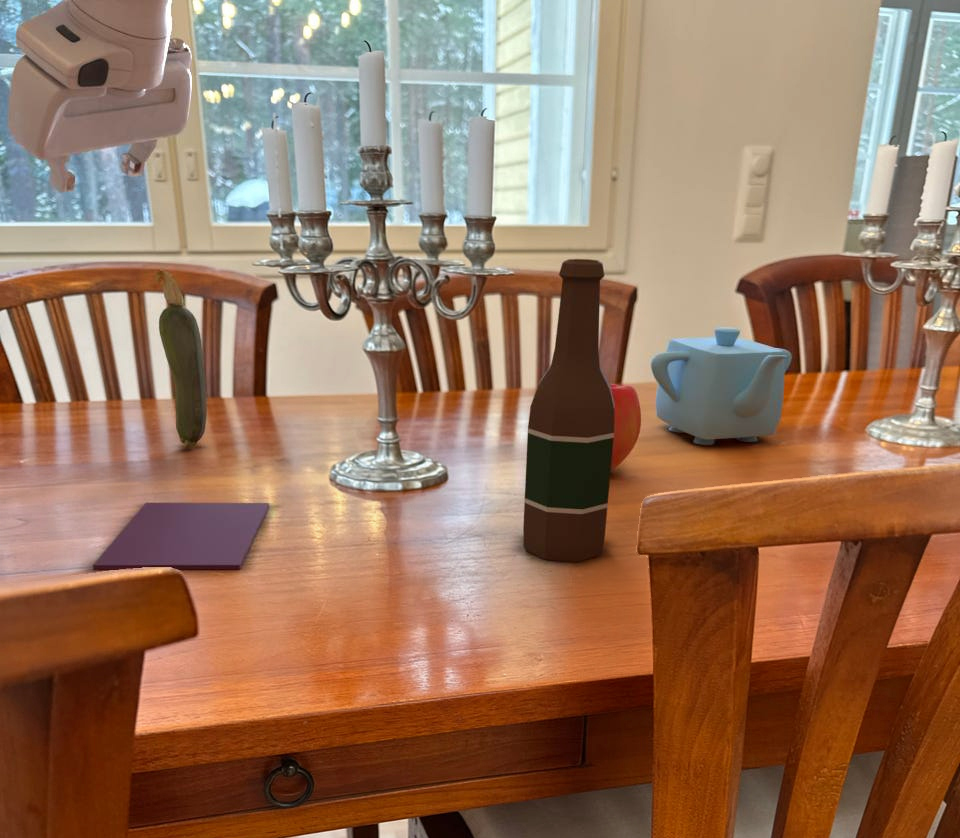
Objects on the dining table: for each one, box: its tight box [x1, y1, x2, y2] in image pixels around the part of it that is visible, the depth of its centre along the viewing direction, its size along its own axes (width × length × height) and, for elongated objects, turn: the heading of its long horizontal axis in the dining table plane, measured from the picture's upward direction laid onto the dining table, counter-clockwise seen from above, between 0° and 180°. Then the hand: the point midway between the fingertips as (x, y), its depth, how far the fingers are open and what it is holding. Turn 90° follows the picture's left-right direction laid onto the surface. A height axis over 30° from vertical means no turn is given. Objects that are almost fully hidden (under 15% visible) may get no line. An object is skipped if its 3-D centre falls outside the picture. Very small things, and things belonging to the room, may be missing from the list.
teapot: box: [650, 326, 793, 446], centre depth 115 cm, size 18×16×14 cm
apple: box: [609, 382, 642, 472], centre depth 100 cm, size 10×10×10 cm
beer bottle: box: [522, 258, 615, 563], centre depth 75 cm, size 8×8×24 cm
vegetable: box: [154, 268, 208, 449], centre depth 102 cm, size 4×4×20 cm
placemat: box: [92, 502, 270, 570], centre depth 81 cm, size 12×16×1 cm
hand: (97, 180), depth 93 cm, fingers open, 8 cm apart
